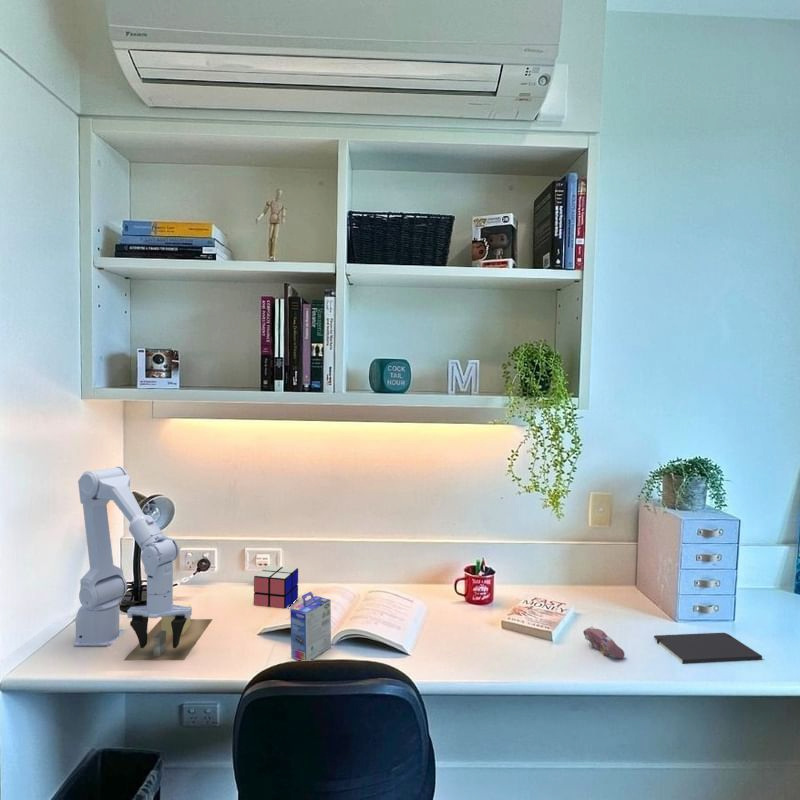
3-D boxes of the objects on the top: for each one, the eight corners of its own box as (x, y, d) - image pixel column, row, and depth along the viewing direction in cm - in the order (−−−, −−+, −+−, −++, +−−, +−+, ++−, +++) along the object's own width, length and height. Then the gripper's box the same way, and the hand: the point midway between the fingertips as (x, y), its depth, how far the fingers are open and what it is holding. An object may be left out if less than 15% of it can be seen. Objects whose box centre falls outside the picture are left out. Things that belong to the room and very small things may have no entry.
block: (161, 634, 141) (161, 613, 141) (169, 625, 146) (169, 605, 146) (183, 634, 141) (183, 613, 141) (190, 625, 147) (190, 605, 146)
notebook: (682, 665, 133) (762, 661, 136) (682, 659, 133) (762, 655, 136) (652, 641, 146) (725, 638, 148) (652, 635, 146) (725, 632, 148)
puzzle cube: (285, 613, 158) (285, 579, 158) (253, 609, 160) (253, 576, 160) (298, 599, 168) (298, 567, 168) (268, 596, 170) (268, 564, 170)
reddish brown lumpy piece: (586, 649, 143) (577, 627, 141) (599, 639, 144) (590, 617, 143) (614, 668, 133) (605, 645, 132) (627, 657, 135) (618, 634, 134)
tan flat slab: (123, 664, 128) (123, 641, 128) (161, 622, 150) (161, 603, 150) (184, 664, 129) (184, 641, 128) (212, 622, 151) (212, 603, 150)
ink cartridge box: (315, 641, 141) (315, 586, 141) (332, 646, 139) (332, 590, 138) (288, 657, 133) (289, 599, 132) (306, 664, 130) (307, 604, 130)
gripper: (121, 597, 127) (121, 654, 127) (184, 597, 128) (184, 654, 128) (134, 585, 134) (134, 640, 135) (194, 585, 135) (194, 640, 135)
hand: (159, 646), depth 132 cm, fingers open, 7 cm apart
